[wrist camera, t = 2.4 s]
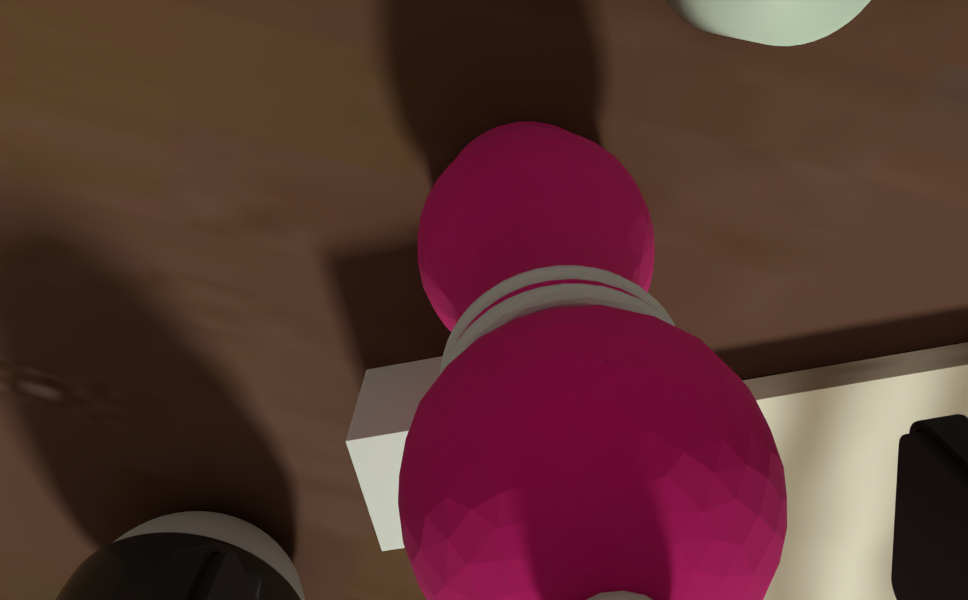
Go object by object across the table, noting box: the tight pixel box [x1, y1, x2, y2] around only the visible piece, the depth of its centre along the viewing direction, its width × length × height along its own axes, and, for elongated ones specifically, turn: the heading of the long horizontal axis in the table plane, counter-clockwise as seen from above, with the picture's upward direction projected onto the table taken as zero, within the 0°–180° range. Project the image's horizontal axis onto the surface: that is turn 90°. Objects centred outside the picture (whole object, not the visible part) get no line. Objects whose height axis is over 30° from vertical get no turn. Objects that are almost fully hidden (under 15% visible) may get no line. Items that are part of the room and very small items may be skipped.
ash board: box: [742, 342, 968, 600], centre depth 31 cm, size 20×14×2 cm
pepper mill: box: [398, 121, 787, 600], centre depth 17 cm, size 7×7×20 cm
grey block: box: [346, 356, 443, 551], centre depth 27 cm, size 5×5×5 cm
